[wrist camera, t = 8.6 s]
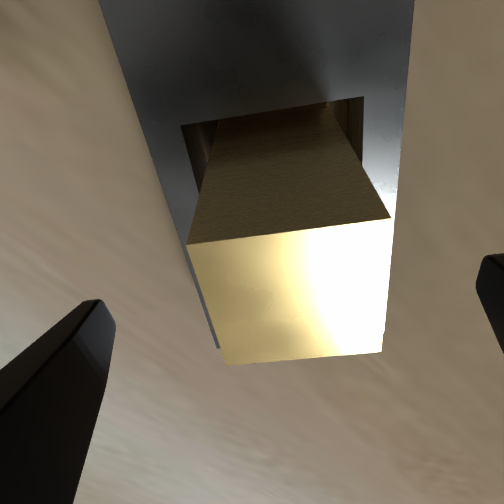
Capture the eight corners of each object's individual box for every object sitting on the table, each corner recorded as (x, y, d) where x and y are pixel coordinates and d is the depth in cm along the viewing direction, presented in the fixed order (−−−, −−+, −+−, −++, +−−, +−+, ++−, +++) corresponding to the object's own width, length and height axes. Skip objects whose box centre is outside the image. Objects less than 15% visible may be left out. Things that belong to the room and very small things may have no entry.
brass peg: (326, 102, 13) (392, 218, 7) (330, 198, 16) (381, 351, 9) (219, 120, 14) (185, 245, 7) (238, 210, 16) (226, 365, 10)
